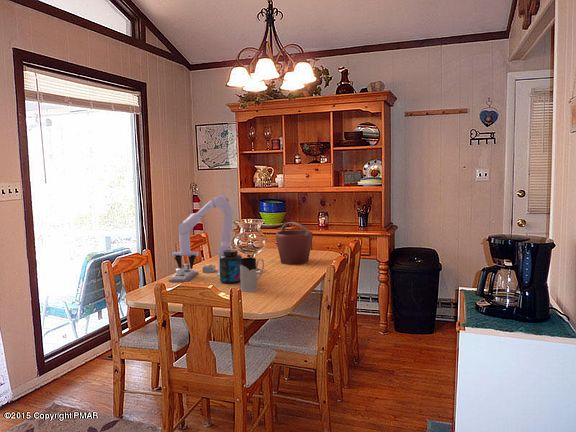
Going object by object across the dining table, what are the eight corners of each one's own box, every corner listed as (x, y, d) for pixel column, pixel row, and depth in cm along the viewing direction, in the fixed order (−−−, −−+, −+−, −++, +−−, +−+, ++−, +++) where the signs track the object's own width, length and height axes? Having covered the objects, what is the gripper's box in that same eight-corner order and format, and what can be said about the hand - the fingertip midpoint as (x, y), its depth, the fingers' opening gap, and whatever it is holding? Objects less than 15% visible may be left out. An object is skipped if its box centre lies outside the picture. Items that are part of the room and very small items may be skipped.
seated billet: (185, 277, 247) (184, 268, 247) (178, 279, 245) (177, 269, 245) (182, 276, 251) (182, 267, 250) (175, 277, 249) (175, 268, 248)
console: (212, 272, 265) (212, 267, 264) (202, 272, 265) (202, 267, 265) (215, 270, 271) (215, 265, 270) (205, 270, 271) (205, 265, 271)
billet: (191, 273, 258) (190, 264, 257) (184, 274, 256) (183, 265, 255) (188, 272, 261) (188, 263, 261) (181, 273, 259) (181, 264, 259)
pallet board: (187, 281, 244) (187, 276, 243) (168, 281, 245) (168, 276, 244) (198, 273, 264) (197, 268, 263) (180, 273, 264) (180, 268, 264)
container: (221, 278, 248) (220, 249, 247) (243, 278, 248) (242, 248, 247) (218, 284, 237) (217, 253, 235) (242, 283, 237) (240, 252, 235)
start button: (210, 271, 266) (210, 265, 266) (205, 271, 267) (205, 265, 266) (212, 270, 269) (212, 264, 269) (207, 270, 270) (206, 264, 269)
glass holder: (236, 289, 225) (235, 259, 223) (258, 284, 235) (257, 254, 233) (247, 292, 219) (246, 261, 217) (270, 287, 229) (269, 257, 227)
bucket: (318, 264, 280) (317, 222, 277) (284, 267, 272) (282, 225, 269) (302, 257, 303) (301, 219, 300) (270, 260, 294) (268, 221, 292)
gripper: (199, 243, 260) (200, 267, 261) (174, 243, 261) (175, 267, 262) (196, 245, 253) (197, 269, 254) (170, 245, 254) (171, 270, 255)
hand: (186, 268), depth 258 cm, fingers open, 6 cm apart
